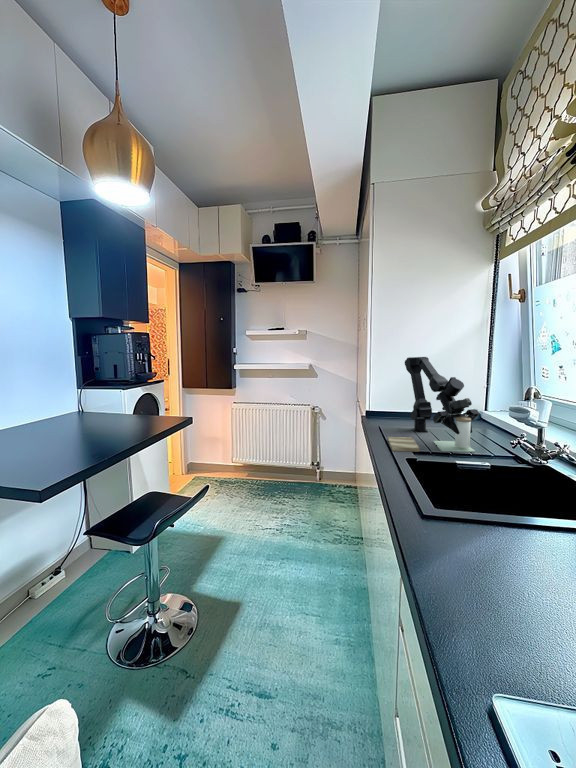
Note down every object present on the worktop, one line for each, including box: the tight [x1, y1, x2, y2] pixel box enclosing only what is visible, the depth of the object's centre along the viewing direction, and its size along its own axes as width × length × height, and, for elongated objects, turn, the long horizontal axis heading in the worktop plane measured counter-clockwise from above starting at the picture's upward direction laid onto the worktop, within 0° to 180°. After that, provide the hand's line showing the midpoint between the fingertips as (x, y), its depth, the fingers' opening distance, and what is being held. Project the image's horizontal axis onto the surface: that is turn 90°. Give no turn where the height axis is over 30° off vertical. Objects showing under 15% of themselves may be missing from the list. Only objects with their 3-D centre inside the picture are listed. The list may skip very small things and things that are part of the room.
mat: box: [432, 440, 476, 453], centre depth 141 cm, size 13×13×1 cm
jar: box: [454, 417, 472, 448], centre depth 136 cm, size 6×6×12 cm
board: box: [387, 436, 421, 453], centre depth 144 cm, size 16×11×2 cm
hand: (464, 433), depth 135 cm, fingers closed on jar, 5 cm apart
